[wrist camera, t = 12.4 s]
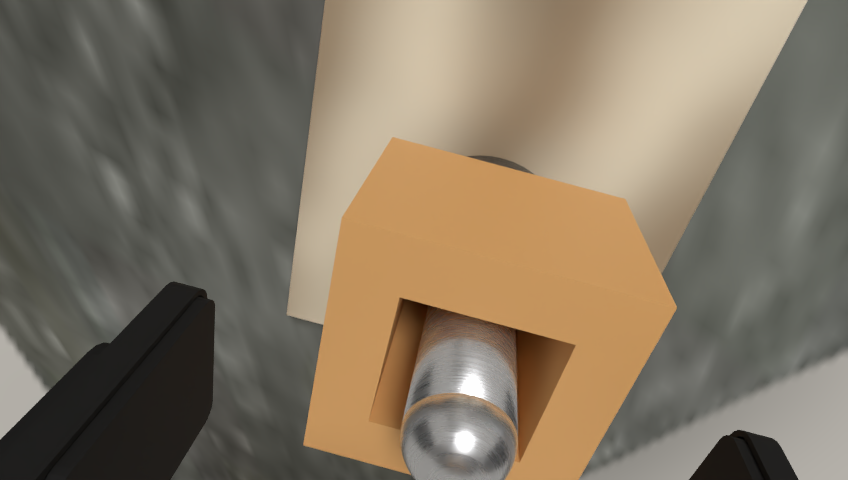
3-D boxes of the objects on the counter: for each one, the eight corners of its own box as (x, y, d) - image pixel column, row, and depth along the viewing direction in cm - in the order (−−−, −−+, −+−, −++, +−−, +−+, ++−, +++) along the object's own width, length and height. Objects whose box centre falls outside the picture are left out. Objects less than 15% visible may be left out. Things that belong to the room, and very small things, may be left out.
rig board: (300, 293, 22) (286, 314, 20) (453, -844, 9) (444, -971, 8) (589, 371, 21) (594, 398, 20) (1126, -683, 9) (1227, -787, 8)
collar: (392, 136, 14) (342, 217, 10) (625, 198, 14) (677, 307, 10) (354, 321, 17) (303, 444, 13) (545, 373, 17) (557, 514, 13)
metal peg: (387, 275, 19) (290, 535, 10) (420, 136, 16) (326, 330, 8) (531, 314, 19) (550, 606, 10) (586, 180, 16) (669, 424, 8)
